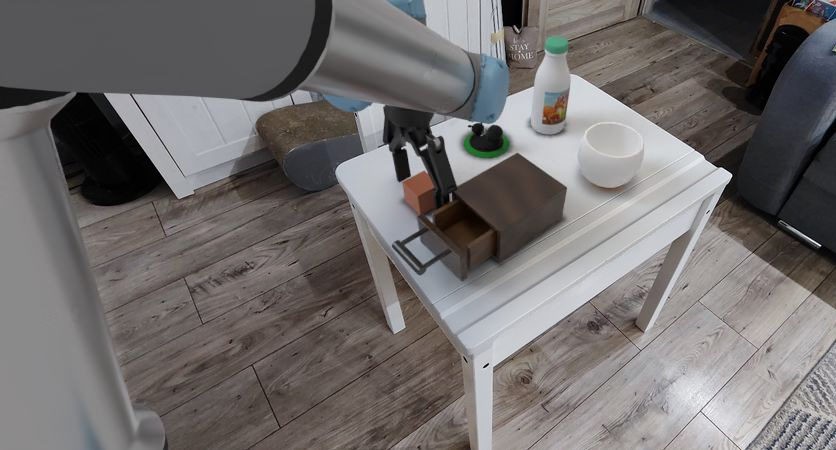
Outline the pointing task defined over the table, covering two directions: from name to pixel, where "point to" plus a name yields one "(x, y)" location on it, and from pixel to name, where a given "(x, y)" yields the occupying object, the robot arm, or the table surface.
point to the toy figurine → (486, 141)
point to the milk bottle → (551, 88)
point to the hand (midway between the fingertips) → (422, 195)
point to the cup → (610, 154)
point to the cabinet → (514, 202)
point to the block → (419, 192)
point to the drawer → (451, 240)
